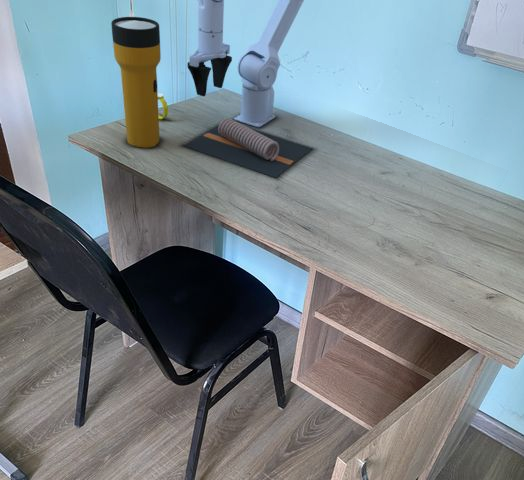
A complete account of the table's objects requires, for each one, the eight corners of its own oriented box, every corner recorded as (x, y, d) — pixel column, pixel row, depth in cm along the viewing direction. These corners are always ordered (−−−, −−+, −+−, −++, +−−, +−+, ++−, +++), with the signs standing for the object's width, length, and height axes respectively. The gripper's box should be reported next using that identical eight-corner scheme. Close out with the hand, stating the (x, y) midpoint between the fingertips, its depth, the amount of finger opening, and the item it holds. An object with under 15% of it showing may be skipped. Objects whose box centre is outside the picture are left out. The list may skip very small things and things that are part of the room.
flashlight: (121, 12, 117) (165, 19, 116) (131, 129, 135) (169, 136, 134) (103, 23, 110) (149, 30, 109) (116, 145, 128) (156, 153, 127)
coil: (282, 141, 127) (231, 115, 135) (268, 143, 124) (217, 117, 133) (278, 160, 130) (229, 134, 138) (265, 163, 127) (215, 136, 136)
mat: (226, 121, 144) (226, 120, 144) (312, 149, 136) (312, 148, 136) (183, 146, 131) (183, 145, 131) (275, 178, 123) (276, 177, 123)
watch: (146, 115, 142) (145, 92, 138) (154, 112, 144) (153, 89, 140) (163, 122, 140) (162, 99, 136) (170, 119, 142) (169, 96, 138)
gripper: (207, 39, 118) (207, 103, 127) (241, 27, 127) (238, 87, 137) (181, 32, 120) (182, 95, 129) (216, 21, 129) (215, 80, 139)
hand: (209, 91), depth 133 cm, fingers open, 7 cm apart
